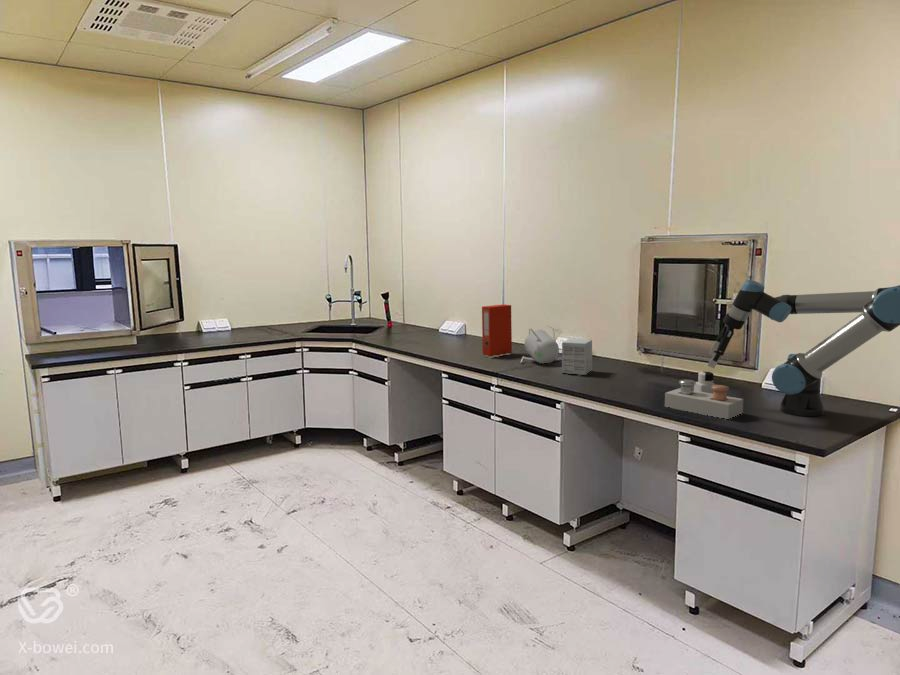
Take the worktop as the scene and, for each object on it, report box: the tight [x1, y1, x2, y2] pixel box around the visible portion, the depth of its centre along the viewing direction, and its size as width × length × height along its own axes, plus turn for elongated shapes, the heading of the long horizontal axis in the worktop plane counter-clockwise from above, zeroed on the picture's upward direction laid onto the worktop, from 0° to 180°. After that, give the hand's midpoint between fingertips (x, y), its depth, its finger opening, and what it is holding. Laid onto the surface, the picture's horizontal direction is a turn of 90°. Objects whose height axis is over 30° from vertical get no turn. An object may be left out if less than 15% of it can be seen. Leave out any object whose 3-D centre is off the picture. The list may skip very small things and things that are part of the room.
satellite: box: [520, 325, 564, 364], centre depth 349 cm, size 23×20×25 cm
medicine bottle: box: [694, 371, 717, 394], centre depth 259 cm, size 7×7×12 cm
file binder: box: [481, 303, 513, 356], centre depth 374 cm, size 8×17×32 cm, turn 124°
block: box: [664, 387, 744, 420], centre depth 243 cm, size 27×12×6 cm, turn 39°
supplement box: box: [561, 338, 593, 375], centre depth 320 cm, size 13×13×18 cm
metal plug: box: [678, 379, 697, 395], centre depth 248 cm, size 6×6×8 cm
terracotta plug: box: [711, 384, 730, 402], centre depth 237 cm, size 6×6×8 cm
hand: (711, 360), depth 248 cm, fingers open, 13 cm apart
